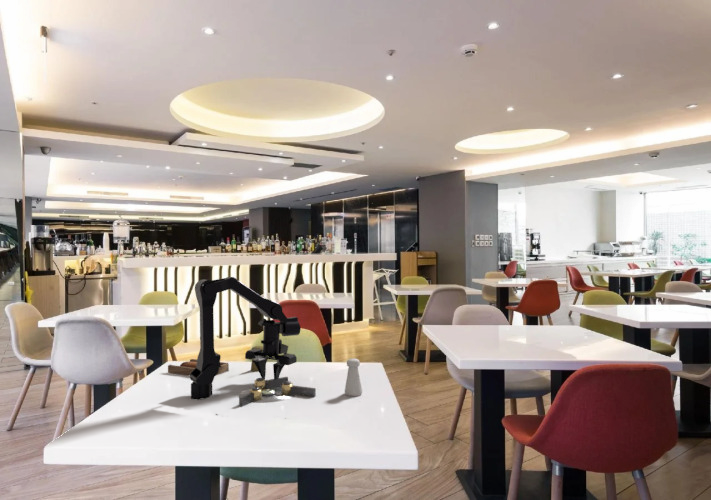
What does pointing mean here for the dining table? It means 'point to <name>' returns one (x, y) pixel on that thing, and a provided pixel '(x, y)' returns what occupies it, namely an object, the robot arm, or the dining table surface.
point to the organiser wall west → (180, 370)
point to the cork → (253, 366)
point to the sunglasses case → (189, 364)
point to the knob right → (297, 390)
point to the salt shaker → (353, 378)
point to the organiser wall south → (223, 368)
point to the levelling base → (262, 395)
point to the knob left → (269, 382)
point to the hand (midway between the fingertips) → (269, 380)
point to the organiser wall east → (196, 361)
